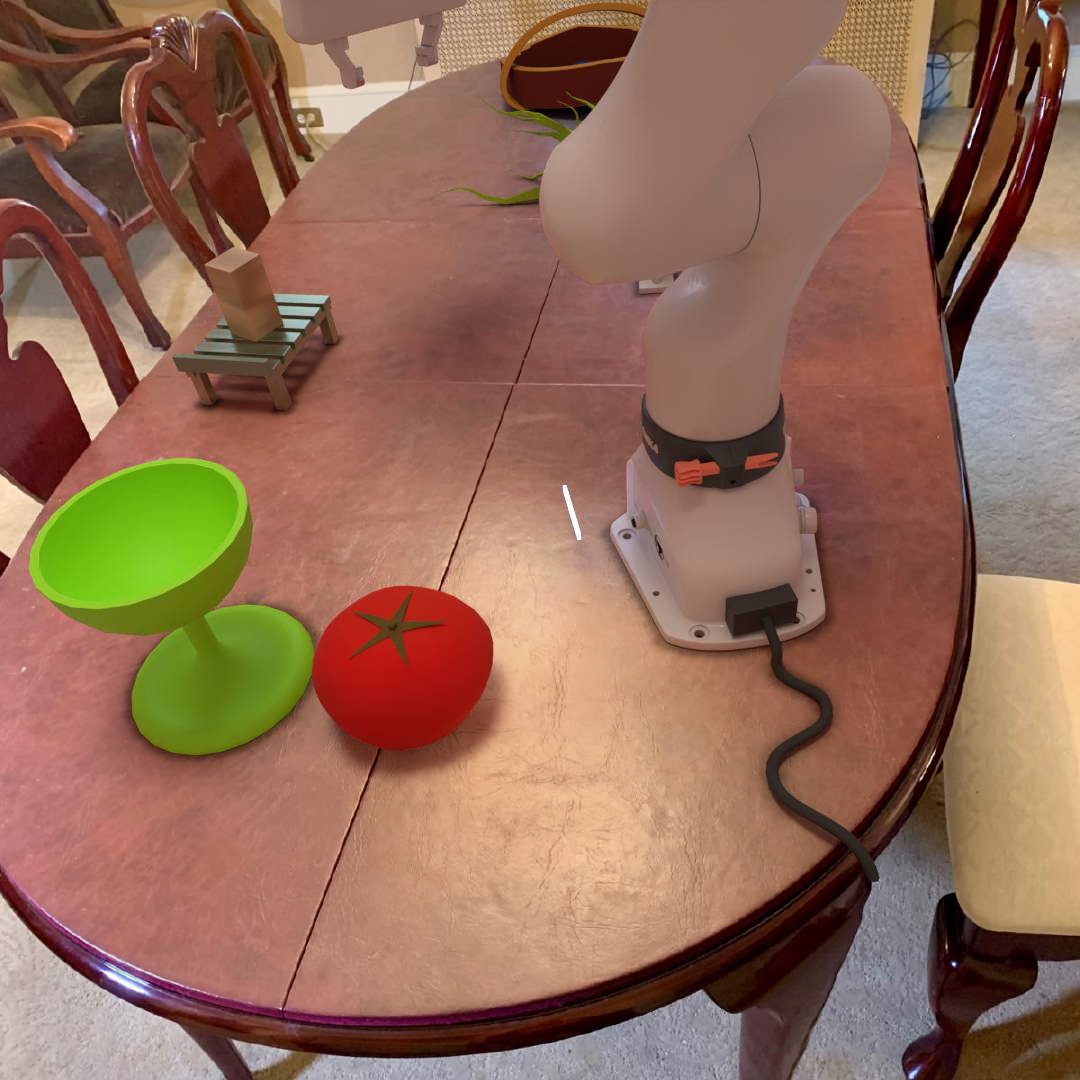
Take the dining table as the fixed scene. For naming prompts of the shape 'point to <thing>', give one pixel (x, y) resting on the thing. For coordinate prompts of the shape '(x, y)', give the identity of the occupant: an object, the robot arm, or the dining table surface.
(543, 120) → the decorative plant
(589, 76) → the decorative basket
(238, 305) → the block
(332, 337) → the rack
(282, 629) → the wineglass
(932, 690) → the dining table surface
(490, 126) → the dining table surface
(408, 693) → the tomato
